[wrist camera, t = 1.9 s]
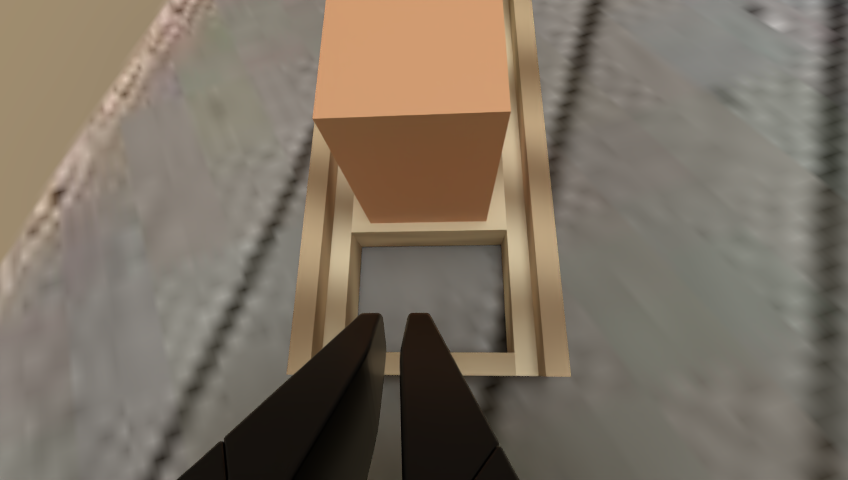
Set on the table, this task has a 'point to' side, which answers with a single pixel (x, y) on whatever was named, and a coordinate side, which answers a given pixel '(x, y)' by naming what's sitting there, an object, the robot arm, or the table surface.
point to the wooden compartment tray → (449, 237)
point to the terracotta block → (415, 104)
